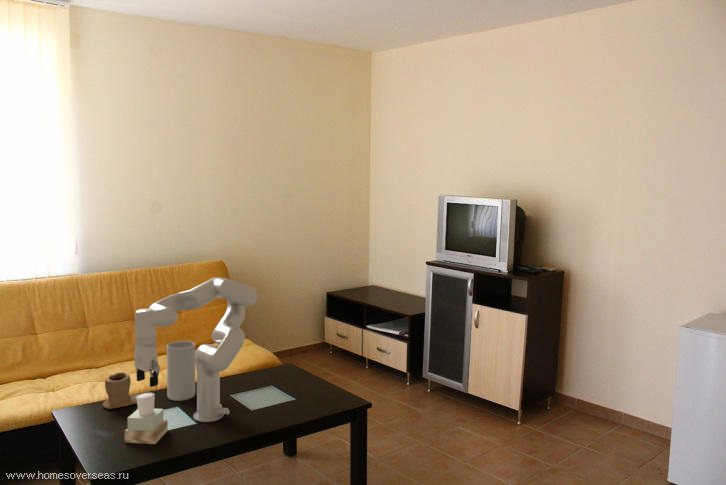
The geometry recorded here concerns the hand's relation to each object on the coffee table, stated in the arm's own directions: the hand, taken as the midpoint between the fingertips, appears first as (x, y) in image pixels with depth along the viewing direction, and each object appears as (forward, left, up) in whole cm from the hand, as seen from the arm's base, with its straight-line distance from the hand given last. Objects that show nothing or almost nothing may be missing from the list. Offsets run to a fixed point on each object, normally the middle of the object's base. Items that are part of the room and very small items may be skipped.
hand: (147, 383), depth 224 cm
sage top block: (0, +1, -17) cm, 17 cm away
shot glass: (0, +1, -12) cm, 12 cm away
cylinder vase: (+2, -43, -22) cm, 48 cm away
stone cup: (+24, -29, -22) cm, 43 cm away
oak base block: (0, +1, -22) cm, 22 cm away
